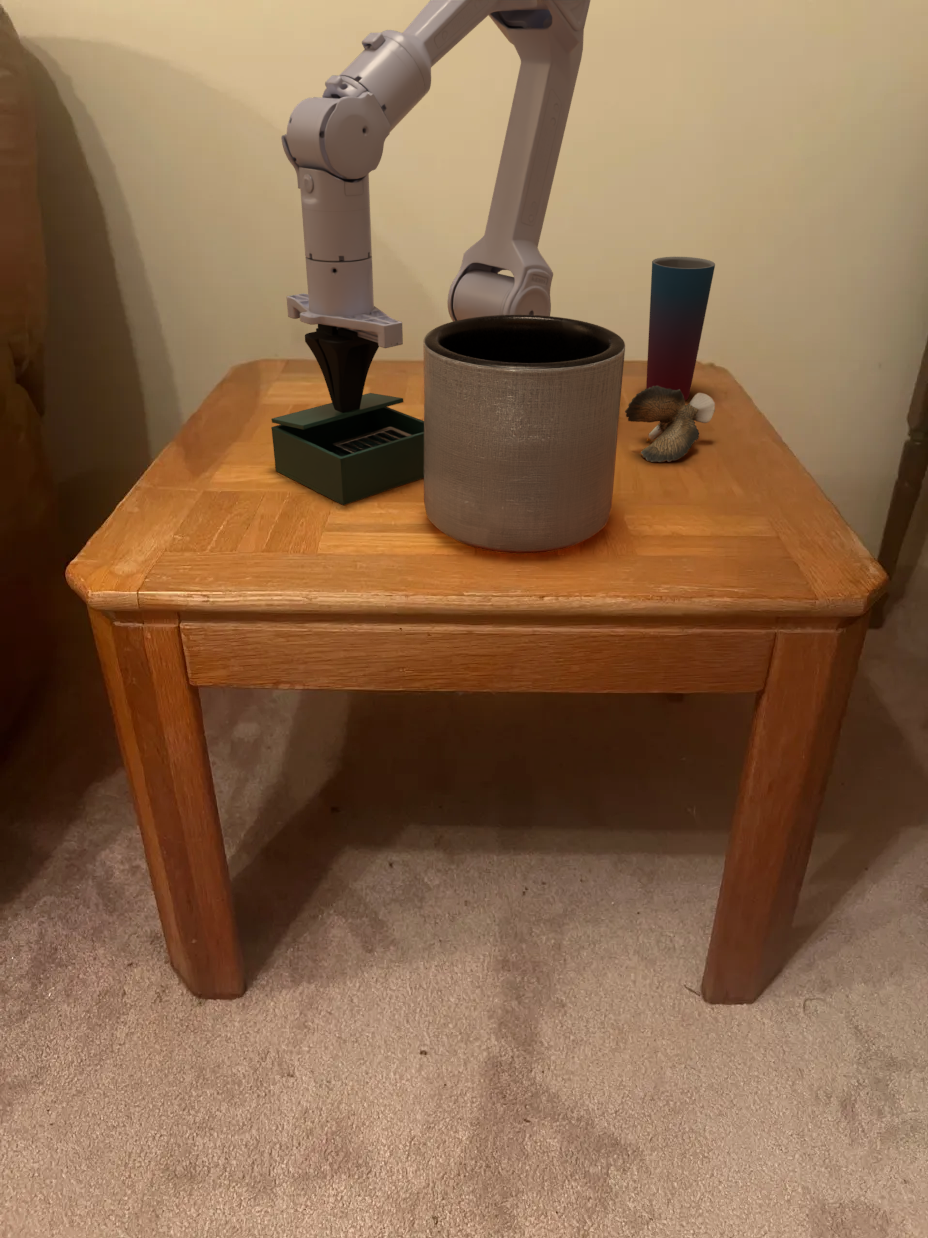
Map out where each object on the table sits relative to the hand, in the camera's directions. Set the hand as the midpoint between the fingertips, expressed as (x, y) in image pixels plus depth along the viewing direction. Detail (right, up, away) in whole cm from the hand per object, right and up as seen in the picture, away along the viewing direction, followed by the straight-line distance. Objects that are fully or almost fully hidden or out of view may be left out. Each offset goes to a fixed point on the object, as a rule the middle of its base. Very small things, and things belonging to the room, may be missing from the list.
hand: (347, 409), depth 88 cm
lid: (-1, 0, +1) cm, 1 cm away
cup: (+35, +6, +23) cm, 42 cm away
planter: (+16, -11, -7) cm, 20 cm away
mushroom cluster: (+32, -2, +9) cm, 33 cm away
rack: (+3, -6, +1) cm, 7 cm away
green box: (+1, -6, +2) cm, 6 cm away
